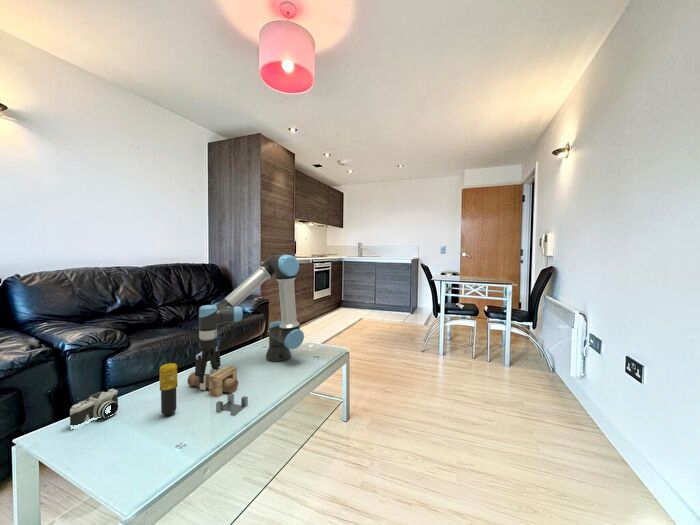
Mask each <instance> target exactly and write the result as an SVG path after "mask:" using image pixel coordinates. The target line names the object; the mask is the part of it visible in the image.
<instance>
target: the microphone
mask: <svg viewBox="0 0 700 525" xmlns="http://www.w3.org/2000/svg"><path fill="white" fill-rule="evenodd" d="M177 388H178V365H177V364H176V363H173V362H171V363H165V364H163V365H161V366H160V367H159V391H160V411H161V412H160V413H161V414H162V415H163V416H164V417H166V418H168V417H171V416H173V415H174V414H175V412H176V410H177V407H178V406H177Z"/></svg>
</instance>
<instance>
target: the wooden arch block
mask: <svg viewBox="0 0 700 525" xmlns="http://www.w3.org/2000/svg"><path fill="white" fill-rule="evenodd" d="M237 368H238V367H237V366H233V365H232V366H231V365H227V366H225V367H223V368H221V369H218V370H217V372H216V373H214V374H212V375H211V374H209V375H210V376H209V389H208V390H209V391H208V392H209V393H208V394H209V396H210V397H217V398H219V397H220V396H222V395H223V391H222V379H224V378H232V379H237V380H238V377H237V376H238V375H237V373H238V370H237Z"/></svg>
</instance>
